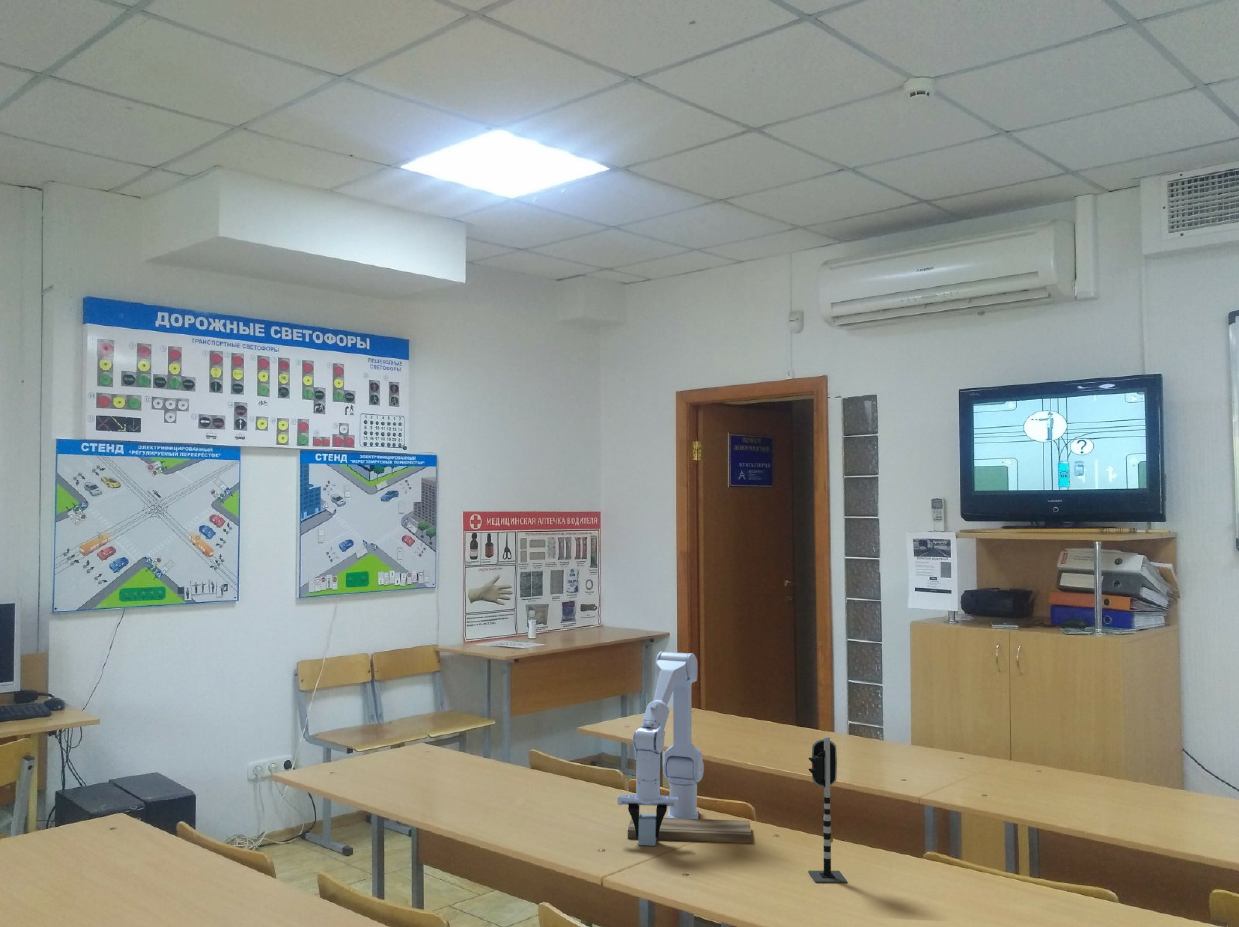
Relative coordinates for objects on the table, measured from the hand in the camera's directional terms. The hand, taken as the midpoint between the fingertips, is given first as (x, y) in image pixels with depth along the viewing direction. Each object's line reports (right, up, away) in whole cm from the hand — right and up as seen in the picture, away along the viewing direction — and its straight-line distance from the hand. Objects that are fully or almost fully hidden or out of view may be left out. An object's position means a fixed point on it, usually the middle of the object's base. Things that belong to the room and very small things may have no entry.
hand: (647, 836), depth 241 cm
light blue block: (0, -2, +1) cm, 2 cm away
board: (+11, -2, +8) cm, 14 cm away
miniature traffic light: (+38, -1, -23) cm, 45 cm away
